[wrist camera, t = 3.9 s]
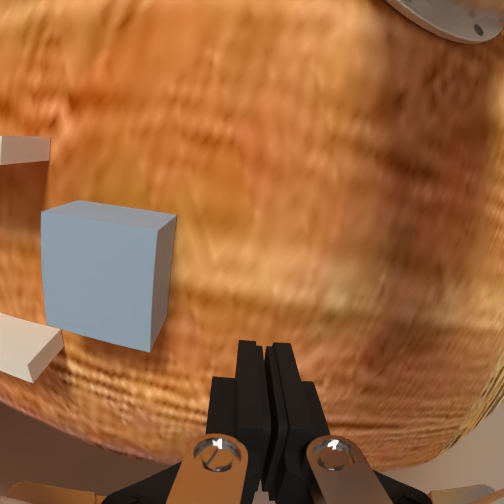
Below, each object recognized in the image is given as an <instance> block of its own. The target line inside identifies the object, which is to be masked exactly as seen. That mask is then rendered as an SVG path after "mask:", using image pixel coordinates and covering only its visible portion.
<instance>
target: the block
mask: <svg viewBox="0 0 504 504" xmlns="http://www.w3.org/2000/svg"><path fill="white" fill-rule="evenodd" d="M176 221H177V215H174V214H168V213H162V212H155V211H149V210H142V209H136V208H129V207H122V206H116V205H109V204H102V203H95V202H88V201H81V200H77V201H74V202H71V203H67V204H64V205H61V206H58V207H54V208H51V209H48V210H45V211H42V212H41V262H42V280H43V293H44V303H45V312H46V321H47V325H50V326H53V327H56V328H59V329H63V330H66V331H69V332H72V333H76V334H79V335H83V336H86V337H90V338H93V339H97V340H101V341H105V342H108V343H112V344H116V345H120V346H124V347H128V348H133V349H137V350H141V351H146V352H151V349H152V347H153V345H154V343H155V341H156V339H157V337H158V334H159V332H160V330H161V328H162V326H163V324H164V322H165V320H166V317H167V309H168V297H169V285H170V274H171V264H172V255H173V246H174V237H175V229H176Z"/></svg>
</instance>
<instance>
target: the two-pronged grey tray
mask: <svg viewBox="0 0 504 504" xmlns="http://www.w3.org/2000/svg"><path fill="white" fill-rule="evenodd" d="M50 141H51V137H36V136H0V165H6V164H16V163H27V162H38V161H49V156H50ZM63 347H64V344H63V339H62V334H61V329H58V328H54V327H50V326H46V325H42V324H38V323H34V322H30V321H26V320H23V319H19V318H16V317H12V316H9V315H5V314H2V313H0V371H2V372H5V373H7V374H10V375H12V376H15V377H17V378H20V379H23V380H25V381H28V382H31V383H34V382H35V381H36V379H37V378H38V377H39V376H40V374H41V373H42V372H43V371H44V370H45V368H46V367H47V366H48V365H49V363H50V362H51V361H52V360H53V359H54V357H55V356H56V355H57V354H58V353H59V352H60V350H61V349H62V348H63Z"/></svg>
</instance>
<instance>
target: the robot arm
mask: <svg viewBox="0 0 504 504" xmlns="http://www.w3.org/2000/svg"><path fill="white" fill-rule="evenodd" d="M385 1H387V2H388V3H389V4H390V5H391V6H392V7H394V8H395V9H396V10H398V11H399V12H400V13H401V14H403V15H404V16H405V17H406V18H408V19H410V20H411V21H413V22H414V23H416V24H417V25H419V26H421V27H422V28H424V29H426V30H428V31H430V32H432V33H434V34H436V35H437V36H439V37H442V38H445V39H448V40H450V41H453V42H457V43H463V44H479V43H482V42H485V41H488V40H491V39H492V38H494V37H496V36H497V35H498V34H499V33H500V31H501V30H502V29H503V26H504V0H385ZM260 478H261V484H262V491H263V492H268V493H269V501H275V503H276V504H504V489H501V490H498V491H496V492H495V490H494V489H492V488H491V487H490V486H487V485H474V486H469V487H462V488H454V489H446V490H437V491H431V492H430V493H429V494H427V495H426V494H425V493H423V492H422V491H420V490H418V489H415V488H413V487H410V486H408V485H406V484H403V483H401V482H398V481H396V480H394V479H392V478H390V477H387V476H385V475H383V474H381V473H379V472H376V471H374V470H372V468H371V467H370V465H369V463H368V462H367V460H366V458H365V457H364V455H363V454H362V452H361V450H360V449H359V448H358V446H357V445H356V444H355V443H354V442H352V441H351V440H349V439H347V438H344V437H341V436H335V435H330V432H329V429H328V425H327V422H326V419H325V416H324V413H323V410H322V407H321V404H320V401H319V397H318V394H317V391H316V388H315V385H314V383H313V382H311V381H301V379H300V376H299V372H298V368H297V365H296V361H295V357H294V354H293V350H292V347H291V344H290V343H277V342H274V343H273V345H272V346H267V347H266V353H265V359H264V358H263V349H262V346H256V341H246V340H239V344H238V354H237V364H236V374H235V378H225V377H214V376H213V378H212V385H211V393H210V402H209V410H208V418H207V427H206V434H205V435H203V436H200V437H197V438H196V439H195V440H193V441H192V442H191V443H190V445H189V446H188V448H187V450H186V453H185V456H184V458H183V461H181V462H179V463H177V464H175V465H173V466H171V467H170V468H167V469H165V470H163V471H161V472H159V473H157V474H155V475H153V476H151V477H149V478H146V479H144V480H142V481H140V482H138V483H135V484H133V485H131V486H128V487H126V488H124V489H121V490H119V491H116V492H114V493H112V494H110V495H109V496H107V497H104V496H96V495H95V493H94V492H85V491H78V490H70V489H64V488H58V487H52V486H47V485H42V484H37V483H33V482H20V483H17V484H15V485H14V486H12V487H11V488H10V490H9V492H8V494H7V497H4V496H0V504H252V502H253V498H254V494H255V492H256V491H257V490H258V486H259V482H260Z"/></svg>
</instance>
